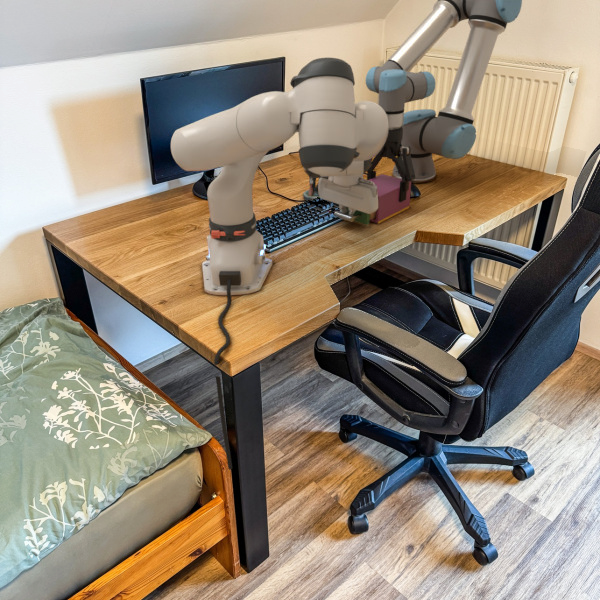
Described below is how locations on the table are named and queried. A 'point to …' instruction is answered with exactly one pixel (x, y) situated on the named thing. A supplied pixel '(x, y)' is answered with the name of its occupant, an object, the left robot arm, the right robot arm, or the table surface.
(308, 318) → the table surface
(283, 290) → the table surface
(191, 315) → the table surface
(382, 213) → the cabinet
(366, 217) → the drawer
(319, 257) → the table surface
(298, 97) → the left robot arm
